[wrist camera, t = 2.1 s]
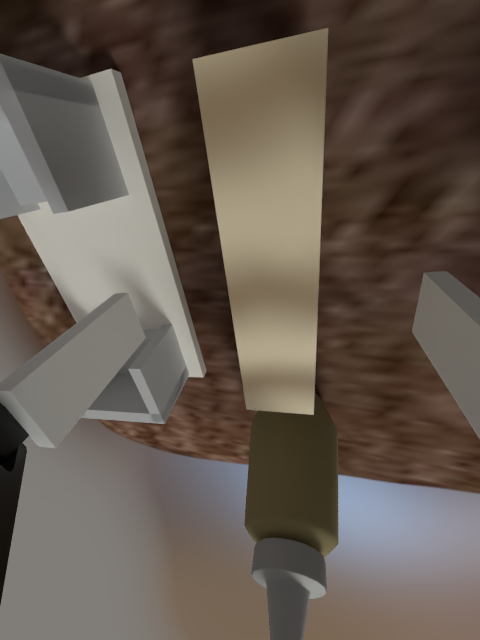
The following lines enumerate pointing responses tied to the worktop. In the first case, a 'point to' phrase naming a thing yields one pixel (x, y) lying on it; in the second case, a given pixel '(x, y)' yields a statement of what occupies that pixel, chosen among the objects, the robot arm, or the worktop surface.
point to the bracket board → (97, 223)
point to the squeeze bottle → (292, 511)
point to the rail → (269, 206)
